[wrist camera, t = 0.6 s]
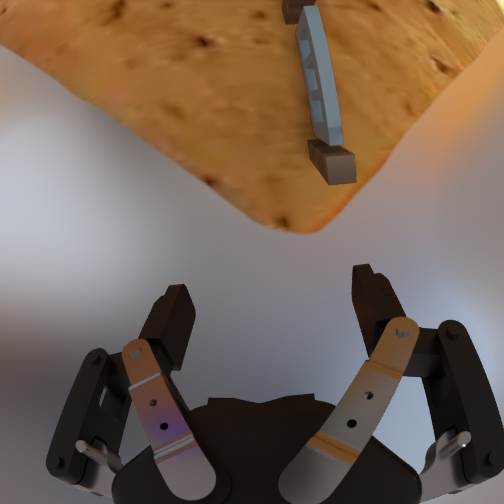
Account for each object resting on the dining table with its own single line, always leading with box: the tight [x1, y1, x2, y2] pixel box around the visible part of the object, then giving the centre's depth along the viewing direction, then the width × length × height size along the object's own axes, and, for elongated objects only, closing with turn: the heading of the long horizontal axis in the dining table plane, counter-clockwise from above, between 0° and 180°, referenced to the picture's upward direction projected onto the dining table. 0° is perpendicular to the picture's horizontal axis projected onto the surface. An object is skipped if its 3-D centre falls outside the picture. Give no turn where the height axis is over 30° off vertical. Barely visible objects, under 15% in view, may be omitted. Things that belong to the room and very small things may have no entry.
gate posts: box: [282, 0, 357, 185], centre depth 22 cm, size 21×2×12 cm, turn 10°
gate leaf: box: [295, 6, 344, 146], centre depth 22 cm, size 13×1×10 cm, turn 10°
